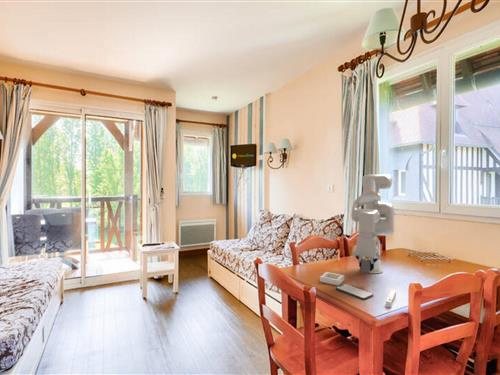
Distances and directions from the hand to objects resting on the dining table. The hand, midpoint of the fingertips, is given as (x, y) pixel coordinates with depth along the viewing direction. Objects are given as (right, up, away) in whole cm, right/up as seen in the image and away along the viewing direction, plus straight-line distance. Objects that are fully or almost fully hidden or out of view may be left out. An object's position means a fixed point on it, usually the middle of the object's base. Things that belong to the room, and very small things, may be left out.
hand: (366, 269), depth 144 cm
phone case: (-10, -9, -10) cm, 17 cm away
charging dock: (+3, -9, -19) cm, 21 cm away
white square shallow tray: (-16, -8, +5) cm, 19 cm away
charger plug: (0, -1, 0) cm, 1 cm away
